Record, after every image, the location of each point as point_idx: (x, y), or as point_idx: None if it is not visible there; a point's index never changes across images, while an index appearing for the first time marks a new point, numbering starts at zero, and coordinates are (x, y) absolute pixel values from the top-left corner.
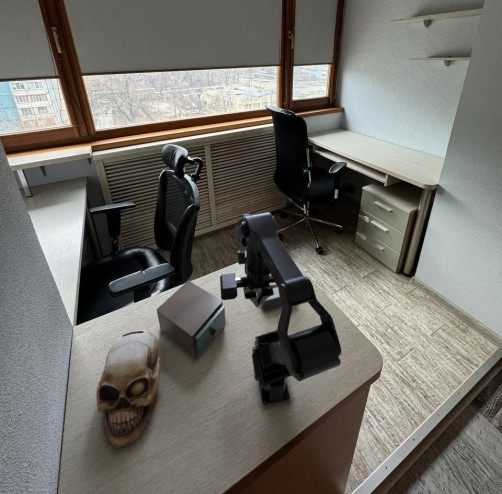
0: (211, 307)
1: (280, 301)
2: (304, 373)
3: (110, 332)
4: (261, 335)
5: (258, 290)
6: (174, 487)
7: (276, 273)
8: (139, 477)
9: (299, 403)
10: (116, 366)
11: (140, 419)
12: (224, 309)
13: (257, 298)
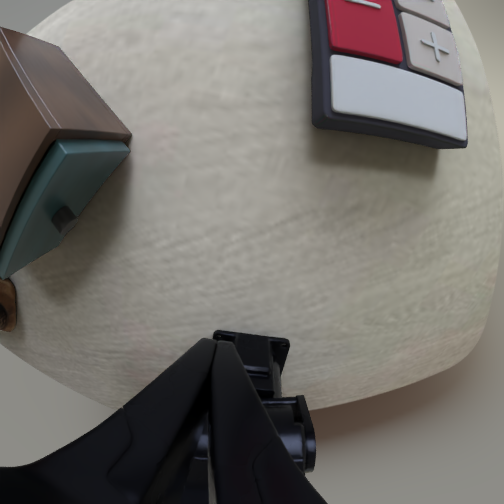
0: (11, 163)
1: (399, 134)
2: None
3: None
4: (199, 465)
5: (213, 497)
6: (74, 390)
7: None
8: (35, 363)
9: (292, 393)
10: None
11: (4, 321)
12: (75, 155)
13: (210, 400)
